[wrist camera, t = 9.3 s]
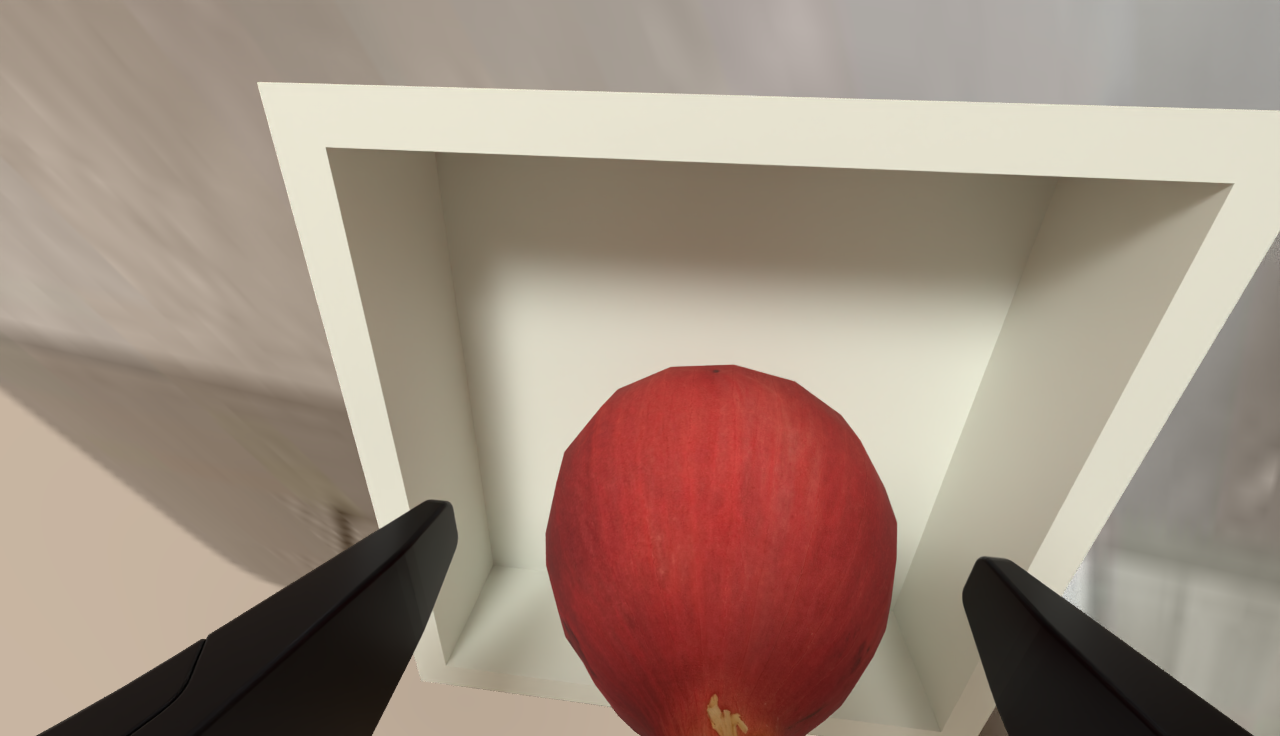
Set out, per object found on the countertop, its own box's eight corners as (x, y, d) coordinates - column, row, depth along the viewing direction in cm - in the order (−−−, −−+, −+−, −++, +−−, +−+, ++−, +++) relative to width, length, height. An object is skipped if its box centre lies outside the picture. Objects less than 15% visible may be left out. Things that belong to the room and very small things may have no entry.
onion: (778, 531, 13) (867, 990, 6) (574, 477, 13) (431, 876, 6) (873, 342, 11) (1212, 765, 4) (620, 275, 11) (461, 567, 4)
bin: (1099, 117, 9) (1350, 112, 6) (904, 608, 15) (965, 756, 12) (409, 97, 10) (257, 81, 7) (481, 560, 16) (421, 681, 13)
